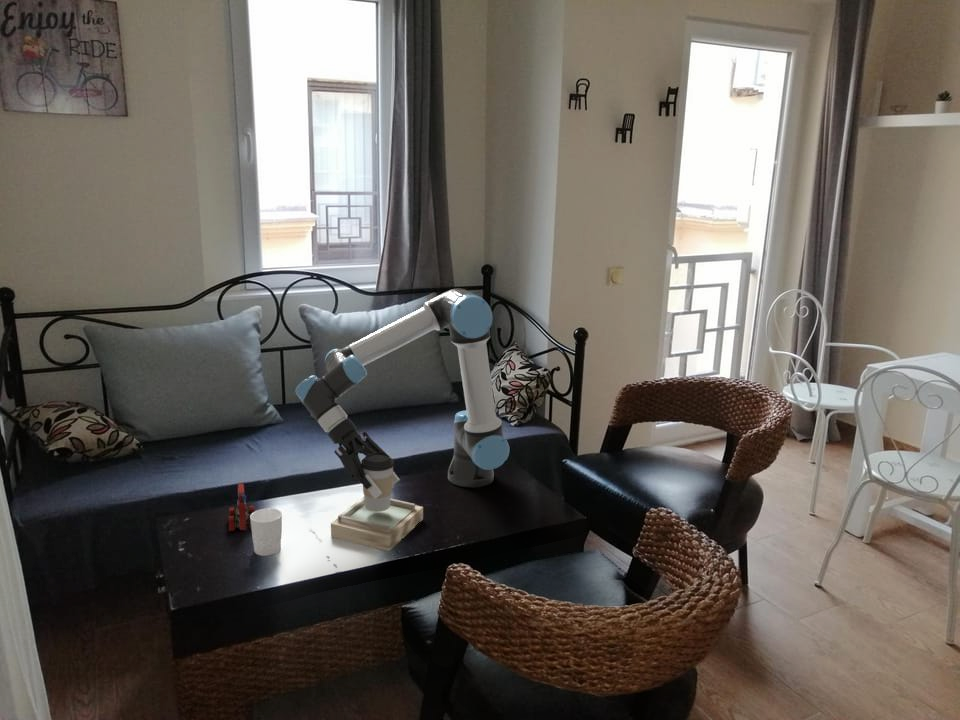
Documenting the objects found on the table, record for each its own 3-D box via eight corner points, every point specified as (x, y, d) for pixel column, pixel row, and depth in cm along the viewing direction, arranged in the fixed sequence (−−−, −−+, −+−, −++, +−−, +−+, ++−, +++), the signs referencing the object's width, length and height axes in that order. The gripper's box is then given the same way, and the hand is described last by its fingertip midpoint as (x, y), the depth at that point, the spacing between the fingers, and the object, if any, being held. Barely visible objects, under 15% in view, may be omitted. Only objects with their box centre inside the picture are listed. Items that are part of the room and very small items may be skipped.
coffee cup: (387, 515, 196) (388, 464, 192) (356, 511, 198) (355, 460, 194) (397, 501, 205) (398, 451, 201) (367, 497, 206) (367, 448, 203)
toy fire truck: (229, 537, 195) (226, 501, 193) (229, 516, 207) (227, 483, 204) (255, 534, 198) (254, 499, 195) (254, 513, 209) (253, 480, 206)
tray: (368, 507, 215) (368, 490, 214) (422, 519, 209) (423, 502, 207) (331, 536, 197) (330, 518, 196) (388, 551, 191) (388, 532, 189)
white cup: (245, 553, 187) (243, 518, 185) (264, 539, 194) (262, 506, 192) (271, 559, 185) (269, 524, 182) (289, 545, 192) (287, 511, 189)
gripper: (350, 421, 212) (398, 481, 210) (306, 445, 192) (358, 512, 190) (366, 406, 208) (414, 468, 207) (323, 430, 189) (376, 497, 187)
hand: (387, 489), depth 199 cm, fingers closed on coffee cup, 9 cm apart
